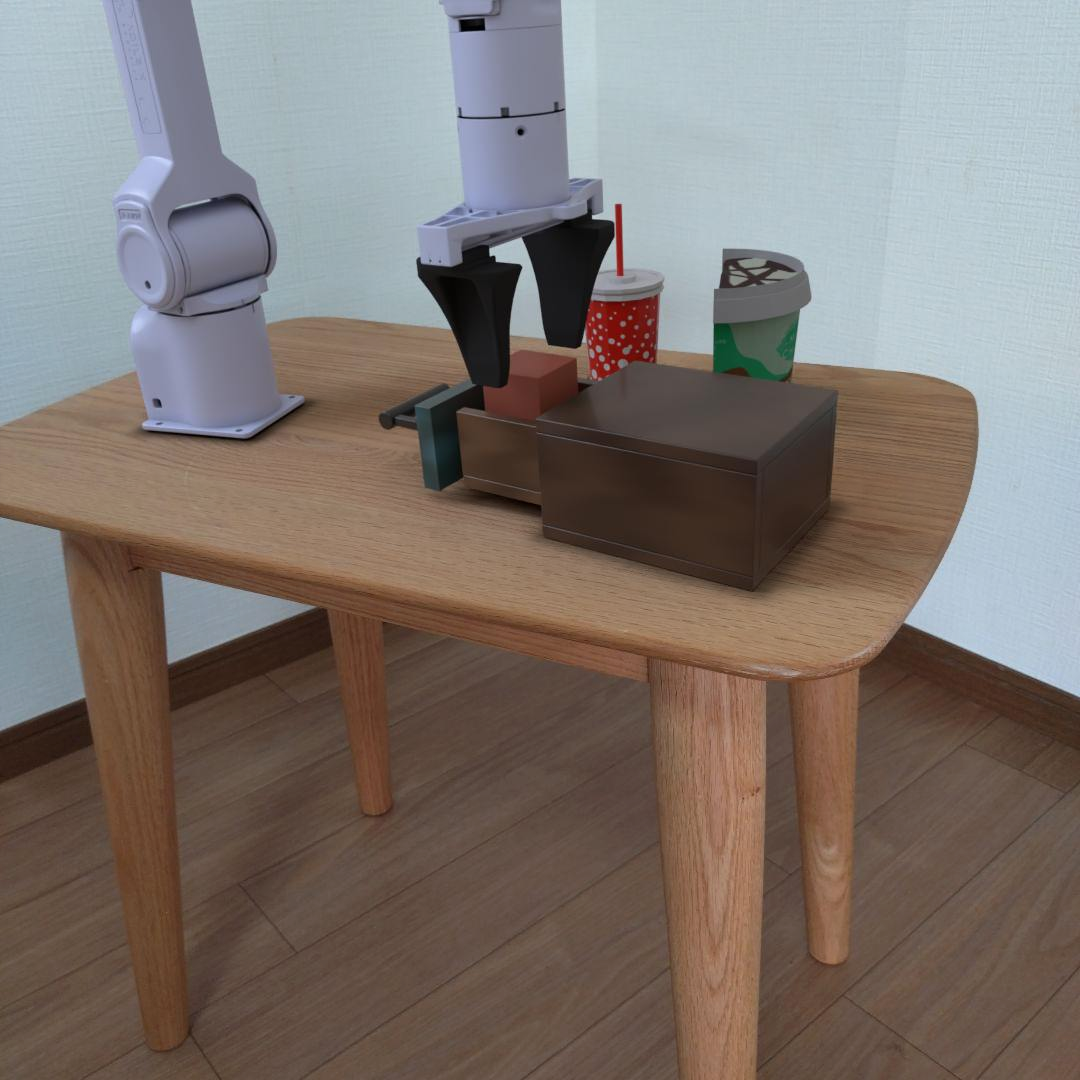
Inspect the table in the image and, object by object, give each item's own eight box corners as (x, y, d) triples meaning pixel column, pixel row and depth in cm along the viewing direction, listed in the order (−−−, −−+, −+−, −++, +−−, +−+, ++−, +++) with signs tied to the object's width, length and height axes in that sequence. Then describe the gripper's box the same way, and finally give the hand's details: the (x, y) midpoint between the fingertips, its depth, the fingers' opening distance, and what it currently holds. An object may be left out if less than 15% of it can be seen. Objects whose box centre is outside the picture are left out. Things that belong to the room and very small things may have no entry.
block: (489, 464, 63) (481, 368, 60) (527, 441, 65) (521, 349, 63) (544, 476, 60) (538, 378, 58) (581, 452, 63) (576, 357, 61)
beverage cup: (668, 412, 74) (666, 209, 67) (582, 416, 74) (572, 215, 68) (662, 384, 79) (661, 193, 73) (582, 387, 80) (573, 198, 73)
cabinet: (542, 537, 58) (534, 418, 55) (636, 468, 66) (634, 360, 62) (752, 591, 51) (757, 460, 48) (830, 508, 59) (838, 389, 56)
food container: (806, 443, 67) (816, 290, 63) (711, 441, 69) (713, 291, 64) (803, 380, 78) (811, 245, 73) (720, 379, 79) (722, 246, 75)
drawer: (366, 473, 65) (353, 393, 63) (458, 423, 72) (450, 349, 70) (585, 527, 57) (581, 437, 54) (667, 465, 63) (666, 383, 61)
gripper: (489, 131, 47) (511, 415, 53) (647, 96, 57) (650, 337, 63) (373, 130, 50) (407, 395, 57) (541, 97, 61) (554, 325, 67)
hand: (528, 364), depth 60 cm, fingers open, 7 cm apart
